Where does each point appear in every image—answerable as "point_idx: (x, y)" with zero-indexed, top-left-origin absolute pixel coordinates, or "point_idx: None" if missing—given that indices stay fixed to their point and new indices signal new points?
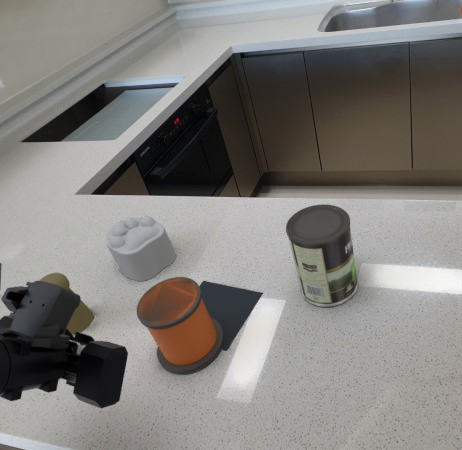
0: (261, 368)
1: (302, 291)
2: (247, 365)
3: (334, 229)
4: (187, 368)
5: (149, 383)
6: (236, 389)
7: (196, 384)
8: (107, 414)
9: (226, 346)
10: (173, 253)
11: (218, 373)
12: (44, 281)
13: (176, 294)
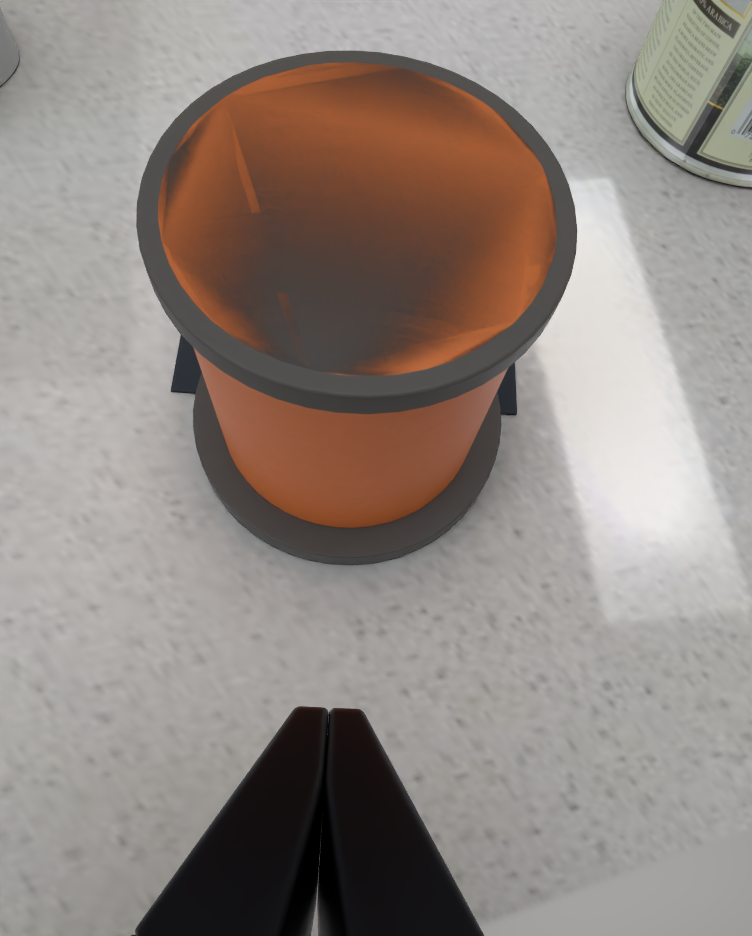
0: (702, 458)
1: (681, 135)
2: (640, 458)
3: None
4: (420, 533)
5: (253, 639)
6: (664, 567)
7: (482, 588)
8: (123, 858)
9: (506, 397)
10: (5, 22)
11: (545, 517)
12: None
13: (387, 160)
